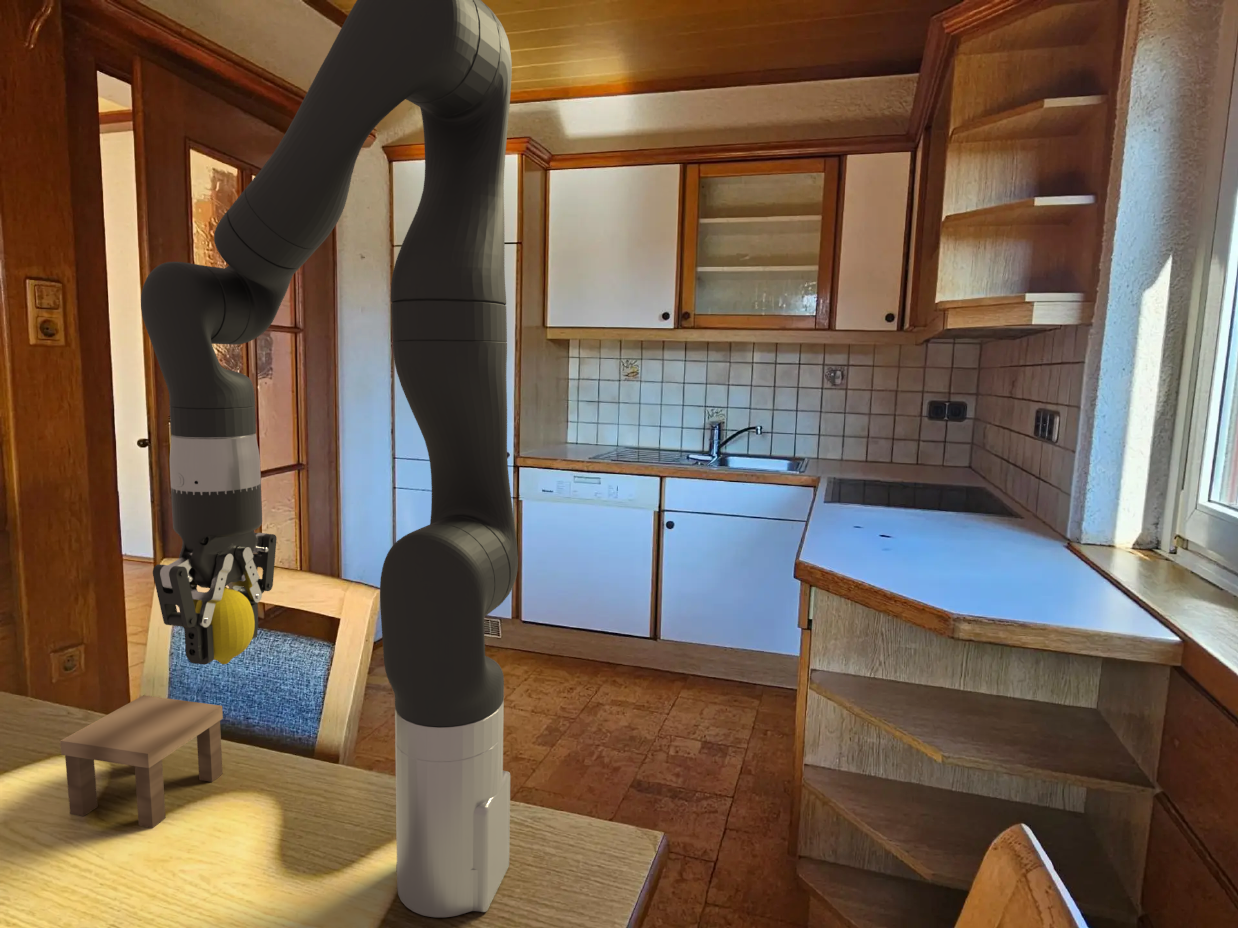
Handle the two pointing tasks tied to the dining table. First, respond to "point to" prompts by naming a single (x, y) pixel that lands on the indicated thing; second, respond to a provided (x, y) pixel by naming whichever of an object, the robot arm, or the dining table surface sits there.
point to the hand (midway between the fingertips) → (224, 648)
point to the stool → (142, 750)
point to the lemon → (231, 625)
